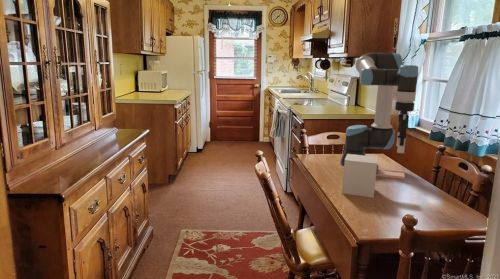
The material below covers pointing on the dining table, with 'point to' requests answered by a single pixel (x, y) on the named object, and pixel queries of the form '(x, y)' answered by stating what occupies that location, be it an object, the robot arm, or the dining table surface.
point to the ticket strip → (390, 174)
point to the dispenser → (359, 175)
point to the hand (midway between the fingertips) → (399, 149)
